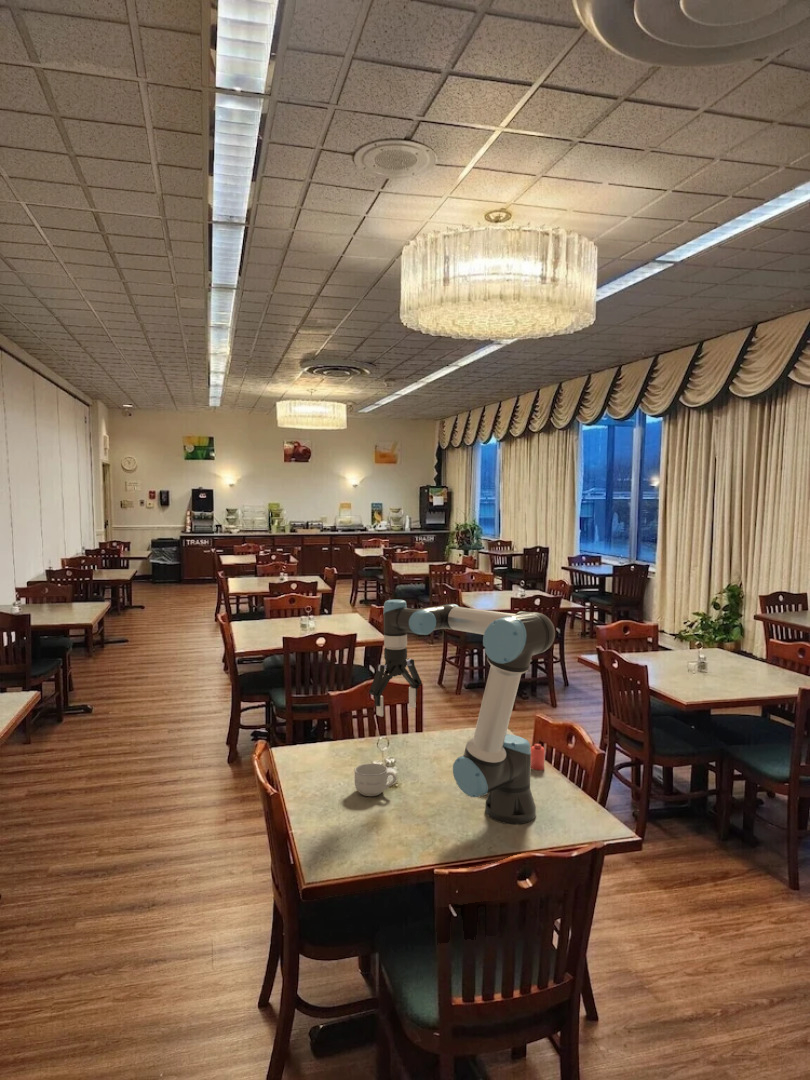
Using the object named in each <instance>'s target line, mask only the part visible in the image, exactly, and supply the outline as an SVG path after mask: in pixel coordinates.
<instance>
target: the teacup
mask: <svg viewBox="0 0 810 1080" xmlns="http://www.w3.org/2000/svg"><path fill="white" fill-rule="evenodd" d="M353 772H354V786H355V789H356V791H358V792H359V793H360V794H361V795H362V796H366V797H377V796H379V795H381V793H383V792H384V791H385V790H387V789H389V787H392V786H393V785H394V784H395V783H396V782H397V779H398V778H397V775H396V774H397V773H395V772H393V770H392V771H391V770H390V771H388V767H387V766H385V765H384V764H380V763H374V762H372V763H363V764H360V765H357V766H355V768H354V769H353ZM389 776H392V777H393V778H392V781H390V782H389V783H388V778H389Z"/></svg>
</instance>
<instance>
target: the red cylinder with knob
mask: <svg viewBox="0 0 810 1080" xmlns="http://www.w3.org/2000/svg"><path fill="white" fill-rule="evenodd" d="M530 750H531V764H530V770H534V771H543V770H544V769H545V747H544V746H542V744H541V743H534V745H532V746H530Z"/></svg>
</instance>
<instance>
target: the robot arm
mask: <svg viewBox="0 0 810 1080" xmlns="http://www.w3.org/2000/svg"><path fill="white" fill-rule="evenodd" d="M383 603H384V604H383V612H382V614H383V643H384V644H383V646H384V647H385V648H383V653H384V654H383V655H384V656H383V657H384V660H385V662H384V664H379V663H378V664H377V665H376V671H375V674H374V678H373V681H372V683H371V686H370V689H369V691H368V693H369V695H371V696H374V705H375V708H376V716H379V717H384V696H383V693H384V691H385V689H386V687H387V685H388V684H389V682H390V680H392V679H393V677H398V676H403V678H404V679H405V680H406V682H407V683H408V684H409V687H408V707H410V708H413V709H416V708H417V704H416V703H417V701H416V700H417V696H418V689H419V688H420V686H421V685H423V681H422V678H420V675H419V672H418V670H417V668H416V665H415V659H412V658H409V657H408V648H407V646H408V633H412V634H416V635H419V636H421V635H424V636H428V635H430V634H431V633H432V632H434V631H437V630H444V629H446V630H447V629H448V630H453V631H459V632H466V633H471V634H476V635H477V634H478V635H483V636H482V637H483V638H482V646H483V647H484V648H485V649H484V652H485V654H486V661H487V662H488V664H489V665H490V667H489V671H488V676H487V680H486V684H485V688H484V692H483V696H482V700H481V704H480V705H481V706H480V709H479V713H478V717H477V721H476V726H475V729H474V734H473V737H472V738H470V739H468V740H467V742H466V743H465V748H464V749H465V750H464V751H463V754H462V755H461V756H459V757H457V758H456V759H455V760H454V762H453V765H452V776H453V778H454V779H453V780H454V781H455V782H456V785H457V786H458V788H459V789H460V790H461V792H462V793H464V794H465V795H466V796H468V797H471V798H478V797H482V796H485V795H486V796H487V797H486V800H485V805H484V806H485V807H484V811H485V812H484V813H485V814H486V816H487V817H489V818H490V819H491V820H493V821H496V822H499V823H502V824H507V825H521V824H526V823H529V822H531V821H533V820H534V819H535V818H536V816H537V815H536V813H537V806H536V803H535V800H534V797H533V794H532V791H531V744H530V741H529V740H527V739H526V738H523V736H519V735H516V734H515V735H514V734H510V733H509V734H507V732H508V728H509V724H510V720H511V716H512V713H513V708H514V705H515V701H516V696H517V694H518V693H517V692H518V689H519V684H520V681H521V677H522V675H523V674H525V673H527V672H528V671H529V668H530V665H531V661H532V658H533V656H535V655H539V654H543V653H544V652H546V651H547V650H549V649H550V648H551V646H552V645H553V643H554V642H555V638H556V631H555V626H554V624H553V622H552V620H551V619H550V618H549V617H548V616H547V615H546V614H543V613H542V612H535V611H533V612H531V611H518V612H517V613H510V612H502V611H501V612H500V611H494V610H484V609H479V608H478V609H477V608H469V607H464V606H459V605H458V604H455V603H446V604H442V605H438V606H437V605H436V606H431V607H429V606H427V607H423V608H410V607H409V608H408V605H407V601H406V600H403V599H388V600H385V602H383ZM406 667H407V668H408V669H406ZM487 794H488V795H487Z"/></svg>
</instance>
